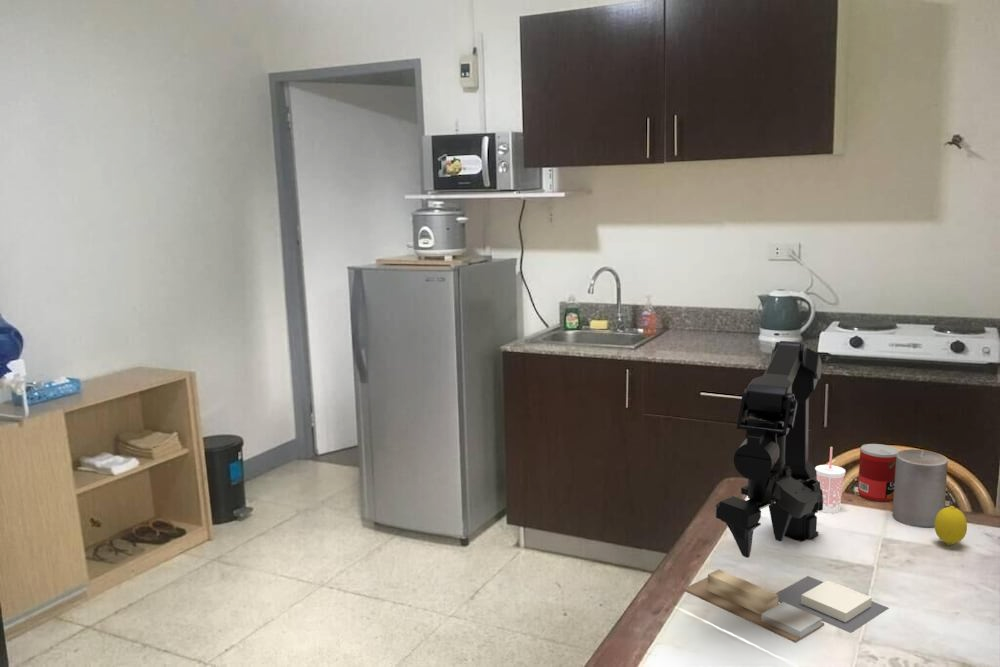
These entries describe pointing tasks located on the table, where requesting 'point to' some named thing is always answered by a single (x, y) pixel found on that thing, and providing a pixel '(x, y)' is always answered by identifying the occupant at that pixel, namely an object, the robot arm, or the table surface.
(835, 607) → the tile
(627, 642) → the table surface
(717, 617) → the table surface
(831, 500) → the beverage cup
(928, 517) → the pillar candle
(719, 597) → the board
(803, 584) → the mat
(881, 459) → the canned food
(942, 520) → the lemon
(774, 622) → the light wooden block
